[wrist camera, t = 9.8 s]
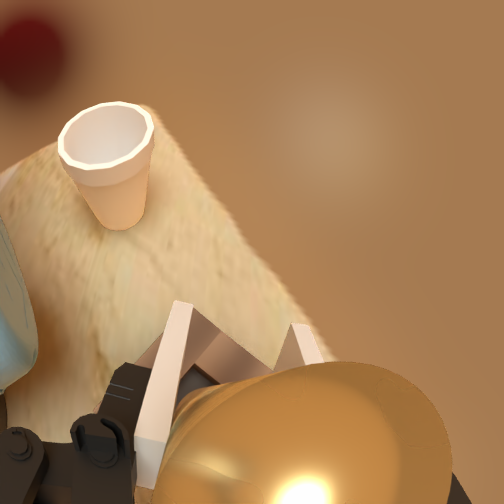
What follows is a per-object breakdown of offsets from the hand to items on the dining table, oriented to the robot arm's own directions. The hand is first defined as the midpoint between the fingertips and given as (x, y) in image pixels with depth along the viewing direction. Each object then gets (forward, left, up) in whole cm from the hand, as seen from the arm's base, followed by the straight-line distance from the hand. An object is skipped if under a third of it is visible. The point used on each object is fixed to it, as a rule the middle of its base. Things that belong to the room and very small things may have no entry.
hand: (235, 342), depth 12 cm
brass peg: (+2, -3, -5) cm, 6 cm away
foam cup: (-20, +8, -20) cm, 30 cm away
